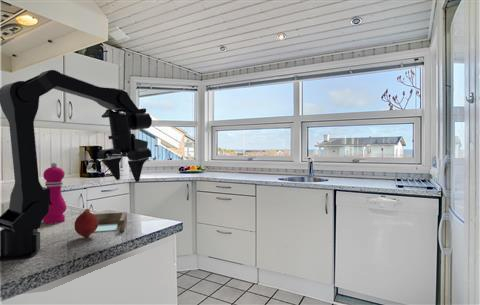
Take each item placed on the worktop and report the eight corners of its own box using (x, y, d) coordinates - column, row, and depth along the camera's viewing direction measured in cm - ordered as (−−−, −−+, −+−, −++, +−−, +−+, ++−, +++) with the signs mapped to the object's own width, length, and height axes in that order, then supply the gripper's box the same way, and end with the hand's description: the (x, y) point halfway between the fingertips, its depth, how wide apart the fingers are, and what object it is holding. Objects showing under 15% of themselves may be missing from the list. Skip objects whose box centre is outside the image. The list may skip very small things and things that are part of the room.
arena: (82, 235, 81) (82, 222, 81) (90, 224, 93) (90, 213, 93) (123, 231, 84) (124, 220, 84) (126, 222, 96) (126, 211, 96)
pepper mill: (68, 218, 101) (68, 162, 101) (63, 223, 94) (64, 162, 94) (44, 219, 98) (44, 162, 98) (38, 225, 92) (38, 163, 91)
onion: (87, 241, 75) (87, 211, 75) (69, 240, 76) (69, 210, 76) (102, 235, 81) (102, 207, 81) (85, 233, 82) (85, 206, 82)
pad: (87, 232, 83) (87, 231, 83) (92, 226, 91) (92, 225, 91) (115, 230, 86) (115, 229, 86) (118, 224, 93) (118, 223, 93)
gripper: (161, 128, 90) (167, 176, 92) (123, 130, 99) (129, 173, 102) (133, 131, 80) (140, 185, 83) (93, 133, 90) (100, 181, 92)
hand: (127, 180), depth 90 cm, fingers open, 9 cm apart
